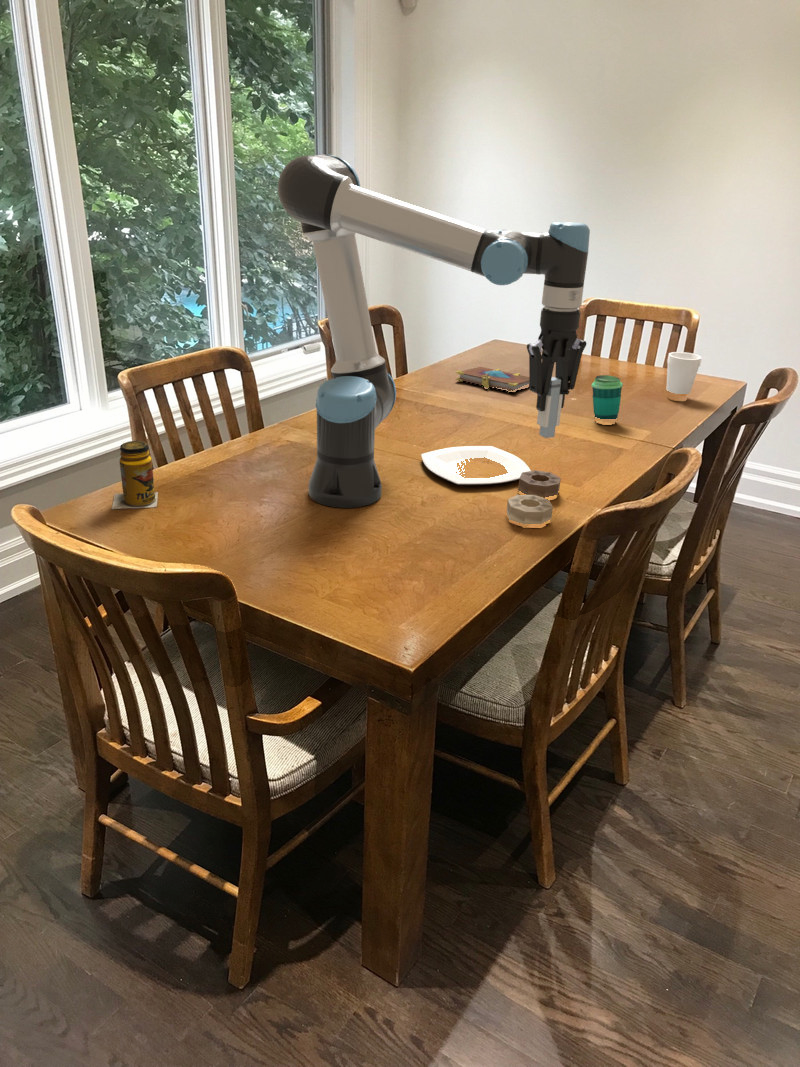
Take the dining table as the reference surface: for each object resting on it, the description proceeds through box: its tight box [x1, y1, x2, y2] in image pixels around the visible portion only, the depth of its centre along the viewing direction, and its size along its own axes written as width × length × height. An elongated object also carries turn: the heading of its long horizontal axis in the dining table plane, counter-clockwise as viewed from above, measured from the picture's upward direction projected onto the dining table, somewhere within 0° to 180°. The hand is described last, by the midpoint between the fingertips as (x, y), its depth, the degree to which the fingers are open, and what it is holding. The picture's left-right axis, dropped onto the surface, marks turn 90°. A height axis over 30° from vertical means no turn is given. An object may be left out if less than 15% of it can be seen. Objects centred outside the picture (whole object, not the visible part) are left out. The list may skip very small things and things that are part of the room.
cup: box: [591, 374, 624, 419], centre depth 220 cm, size 8×8×12 cm
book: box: [455, 366, 529, 391], centre depth 253 cm, size 16×25×5 cm, turn 54°
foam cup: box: [665, 351, 702, 394], centre depth 243 cm, size 10×9×13 cm
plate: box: [420, 445, 532, 486], centre depth 186 cm, size 23×23×2 cm
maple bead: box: [506, 494, 554, 524], centre depth 162 cm, size 8×8×4 cm
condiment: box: [111, 440, 159, 510], centre depth 161 cm, size 7×8×12 cm
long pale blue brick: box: [538, 376, 561, 439], centre depth 167 cm, size 2×2×12 cm
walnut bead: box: [517, 469, 562, 498], centre depth 175 cm, size 8×8×4 cm
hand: (548, 424), depth 169 cm, fingers closed on long pale blue brick, 2 cm apart
